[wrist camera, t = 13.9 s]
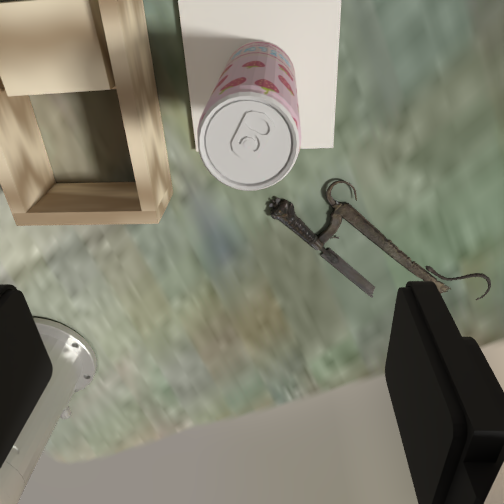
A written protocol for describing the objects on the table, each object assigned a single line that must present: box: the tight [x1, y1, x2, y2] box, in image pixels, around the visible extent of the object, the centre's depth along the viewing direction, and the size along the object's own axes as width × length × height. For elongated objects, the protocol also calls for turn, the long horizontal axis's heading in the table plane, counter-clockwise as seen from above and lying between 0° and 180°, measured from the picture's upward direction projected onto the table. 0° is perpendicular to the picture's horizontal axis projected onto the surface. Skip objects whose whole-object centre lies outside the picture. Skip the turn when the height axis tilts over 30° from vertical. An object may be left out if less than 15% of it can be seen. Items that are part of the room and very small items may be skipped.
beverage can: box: [197, 41, 302, 191], centre depth 29 cm, size 6×6×15 cm
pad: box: [178, 0, 341, 151], centre depth 35 cm, size 12×12×1 cm
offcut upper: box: [0, 0, 116, 96], centre depth 32 cm, size 6×8×2 cm
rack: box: [0, 0, 173, 226], centre depth 34 cm, size 19×12×6 cm, turn 3°
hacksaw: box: [269, 180, 491, 300], centre depth 44 cm, size 24×10×2 cm, turn 48°
